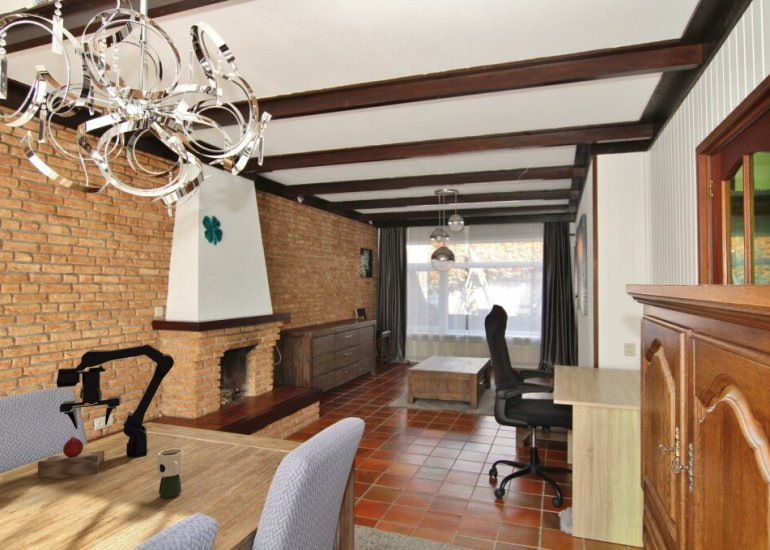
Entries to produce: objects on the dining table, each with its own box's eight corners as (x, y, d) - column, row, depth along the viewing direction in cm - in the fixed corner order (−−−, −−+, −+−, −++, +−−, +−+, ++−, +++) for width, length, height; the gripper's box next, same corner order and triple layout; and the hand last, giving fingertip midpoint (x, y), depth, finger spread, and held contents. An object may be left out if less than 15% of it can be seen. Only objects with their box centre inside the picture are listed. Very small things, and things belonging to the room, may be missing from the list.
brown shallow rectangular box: (104, 461, 171) (104, 444, 171) (97, 473, 160) (97, 455, 160) (48, 468, 165) (49, 451, 165) (37, 480, 154) (37, 462, 154)
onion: (86, 456, 165) (87, 433, 165) (74, 462, 159) (74, 438, 160) (71, 455, 166) (71, 433, 166) (58, 461, 160) (59, 438, 160)
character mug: (152, 493, 143) (152, 450, 144) (176, 486, 148) (177, 445, 149) (162, 505, 135) (163, 459, 136) (188, 497, 140) (188, 453, 140)
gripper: (122, 378, 184) (122, 418, 183) (65, 383, 176) (66, 425, 176) (119, 383, 174) (119, 425, 173) (59, 389, 166) (59, 433, 166)
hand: (91, 427), depth 172 cm, fingers open, 9 cm apart
